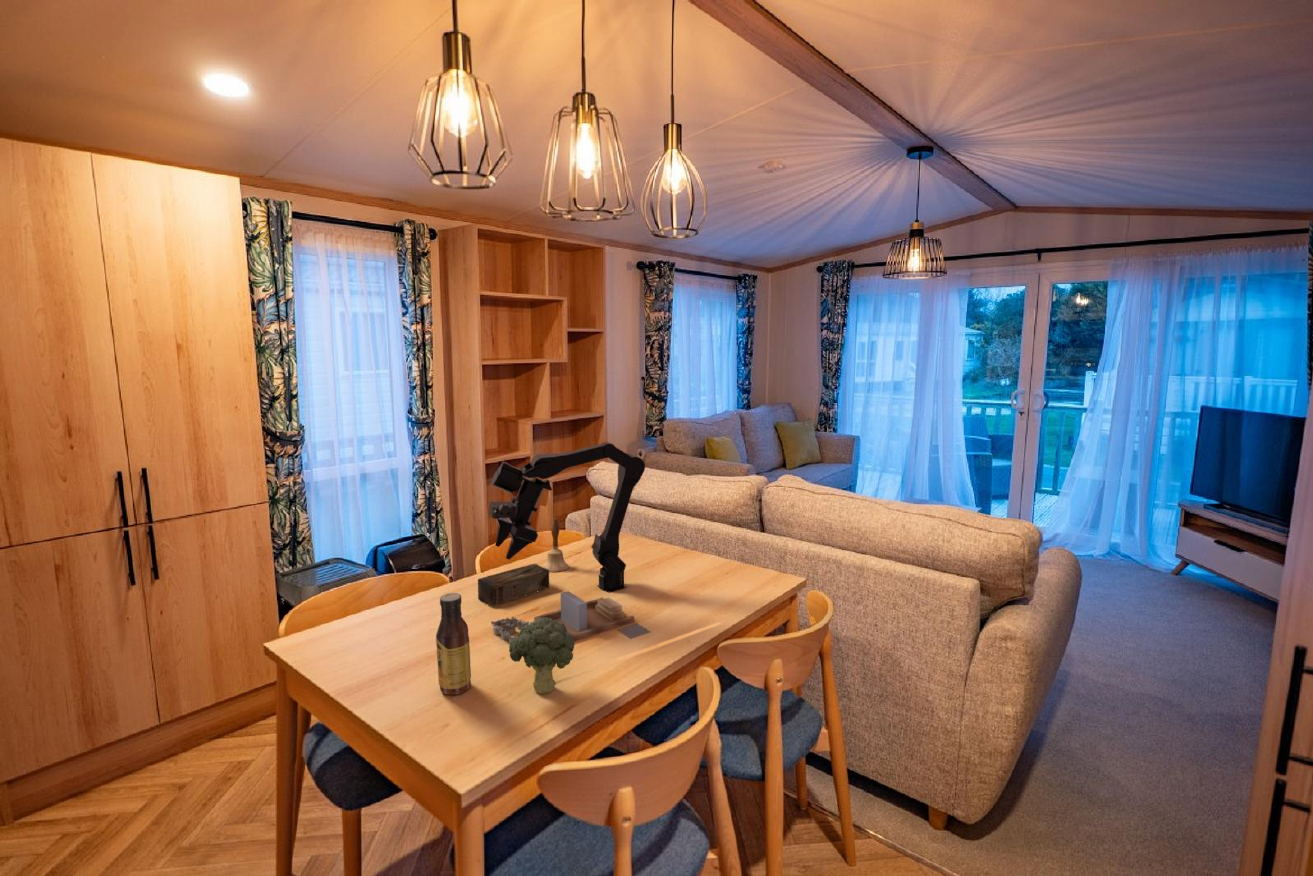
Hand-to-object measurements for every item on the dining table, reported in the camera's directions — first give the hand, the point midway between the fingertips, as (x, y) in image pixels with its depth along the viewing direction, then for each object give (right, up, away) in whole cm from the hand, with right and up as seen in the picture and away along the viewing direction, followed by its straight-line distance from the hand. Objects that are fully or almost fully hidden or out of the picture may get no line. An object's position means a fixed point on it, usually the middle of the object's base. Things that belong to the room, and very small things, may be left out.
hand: (502, 552), depth 163 cm
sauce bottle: (0, -20, -39) cm, 44 cm away
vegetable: (+18, -20, -40) cm, 48 cm away
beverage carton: (+1, -14, +9) cm, 16 cm away
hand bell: (+9, -10, +29) cm, 33 cm away
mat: (+36, -17, -15) cm, 42 cm away
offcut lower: (+29, -15, -6) cm, 33 cm away
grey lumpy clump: (+7, -17, -17) cm, 25 cm away
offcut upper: (+29, -13, -6) cm, 32 cm away
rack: (+23, -16, -10) cm, 30 cm away
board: (+21, -16, -12) cm, 29 cm away
